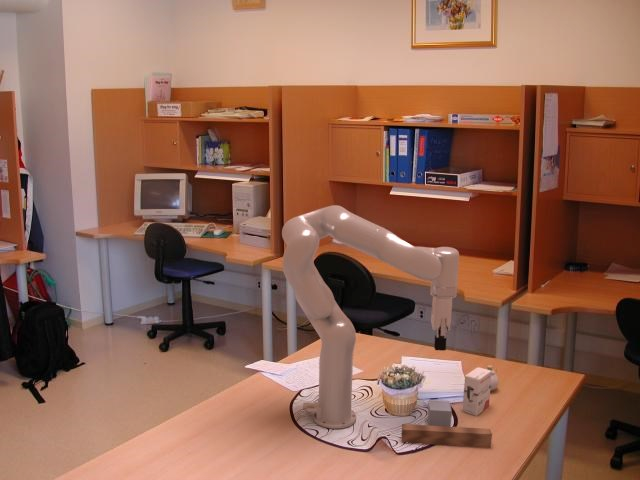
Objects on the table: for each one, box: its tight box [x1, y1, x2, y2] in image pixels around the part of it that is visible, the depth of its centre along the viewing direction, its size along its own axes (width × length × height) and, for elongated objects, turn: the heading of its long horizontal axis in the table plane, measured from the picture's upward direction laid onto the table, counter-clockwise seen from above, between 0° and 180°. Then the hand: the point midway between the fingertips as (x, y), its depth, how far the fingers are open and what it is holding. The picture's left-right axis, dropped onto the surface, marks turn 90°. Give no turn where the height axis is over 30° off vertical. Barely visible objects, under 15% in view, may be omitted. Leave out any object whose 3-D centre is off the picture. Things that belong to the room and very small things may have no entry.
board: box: [401, 423, 493, 449], centre depth 198 cm, size 24×3×4 cm, turn 86°
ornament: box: [486, 363, 499, 392], centre depth 229 cm, size 6×7×10 cm
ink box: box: [461, 367, 492, 417], centre depth 216 cm, size 9×5×12 cm, turn 141°
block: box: [427, 399, 452, 427], centre depth 207 cm, size 6×6×6 cm
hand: (439, 349), depth 213 cm, fingers closed
